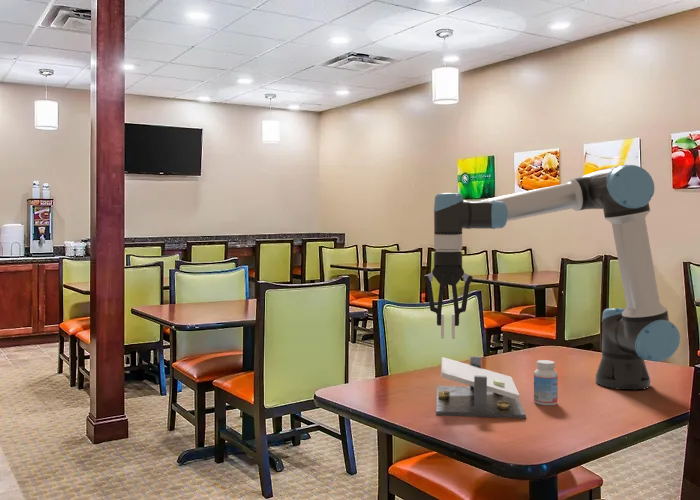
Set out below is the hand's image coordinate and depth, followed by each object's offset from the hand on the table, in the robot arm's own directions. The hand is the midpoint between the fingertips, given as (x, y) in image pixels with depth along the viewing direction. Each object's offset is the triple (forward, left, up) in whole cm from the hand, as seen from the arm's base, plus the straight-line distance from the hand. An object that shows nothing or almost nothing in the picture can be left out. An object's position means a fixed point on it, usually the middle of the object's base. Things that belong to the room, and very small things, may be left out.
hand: (447, 337), depth 173 cm
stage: (-8, 0, -10) cm, 13 cm away
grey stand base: (-8, 0, -17) cm, 19 cm away
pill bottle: (-26, -2, -18) cm, 32 cm away
